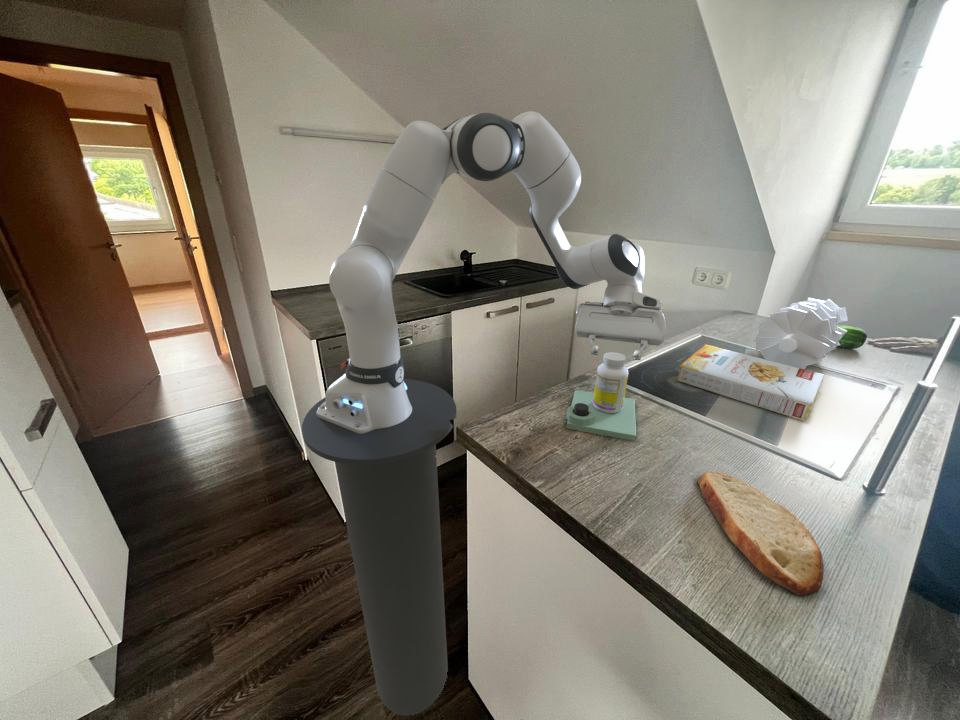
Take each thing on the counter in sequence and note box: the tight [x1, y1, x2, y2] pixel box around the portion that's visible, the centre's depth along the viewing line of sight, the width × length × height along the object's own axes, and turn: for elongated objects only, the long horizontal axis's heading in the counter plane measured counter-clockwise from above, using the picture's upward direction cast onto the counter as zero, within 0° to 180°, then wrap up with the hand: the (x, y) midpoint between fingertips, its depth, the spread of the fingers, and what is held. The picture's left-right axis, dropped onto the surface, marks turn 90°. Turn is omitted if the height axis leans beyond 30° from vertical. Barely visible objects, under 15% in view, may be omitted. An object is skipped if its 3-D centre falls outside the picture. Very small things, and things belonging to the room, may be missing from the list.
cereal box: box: [677, 343, 825, 422], centre depth 101 cm, size 20×6×28 cm
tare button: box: [574, 403, 589, 416], centre depth 84 cm, size 3×3×2 cm
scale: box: [565, 389, 637, 442], centre depth 88 cm, size 14×16×3 cm
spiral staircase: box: [754, 297, 849, 370], centre depth 115 cm, size 18×18×25 cm
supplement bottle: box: [593, 351, 629, 413], centre depth 87 cm, size 7×7×13 cm
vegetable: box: [836, 325, 868, 350], centre depth 129 cm, size 7×7×20 cm
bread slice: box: [697, 471, 825, 597], centre depth 59 cm, size 18×18×4 cm
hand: (615, 356), depth 90 cm, fingers open, 8 cm apart
